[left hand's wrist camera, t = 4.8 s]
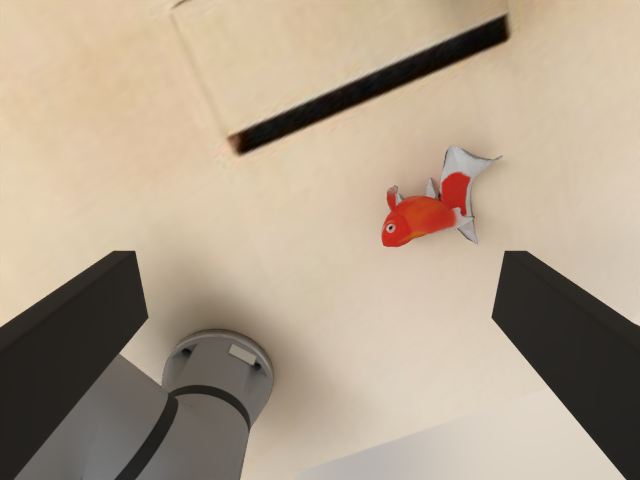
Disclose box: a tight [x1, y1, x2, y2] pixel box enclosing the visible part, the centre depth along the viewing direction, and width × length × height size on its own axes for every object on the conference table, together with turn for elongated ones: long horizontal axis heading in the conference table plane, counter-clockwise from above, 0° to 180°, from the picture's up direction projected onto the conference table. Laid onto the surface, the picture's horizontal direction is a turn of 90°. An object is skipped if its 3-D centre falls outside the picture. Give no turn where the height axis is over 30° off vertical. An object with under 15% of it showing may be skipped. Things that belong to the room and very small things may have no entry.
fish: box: [381, 145, 503, 247], centre depth 38 cm, size 11×16×10 cm
